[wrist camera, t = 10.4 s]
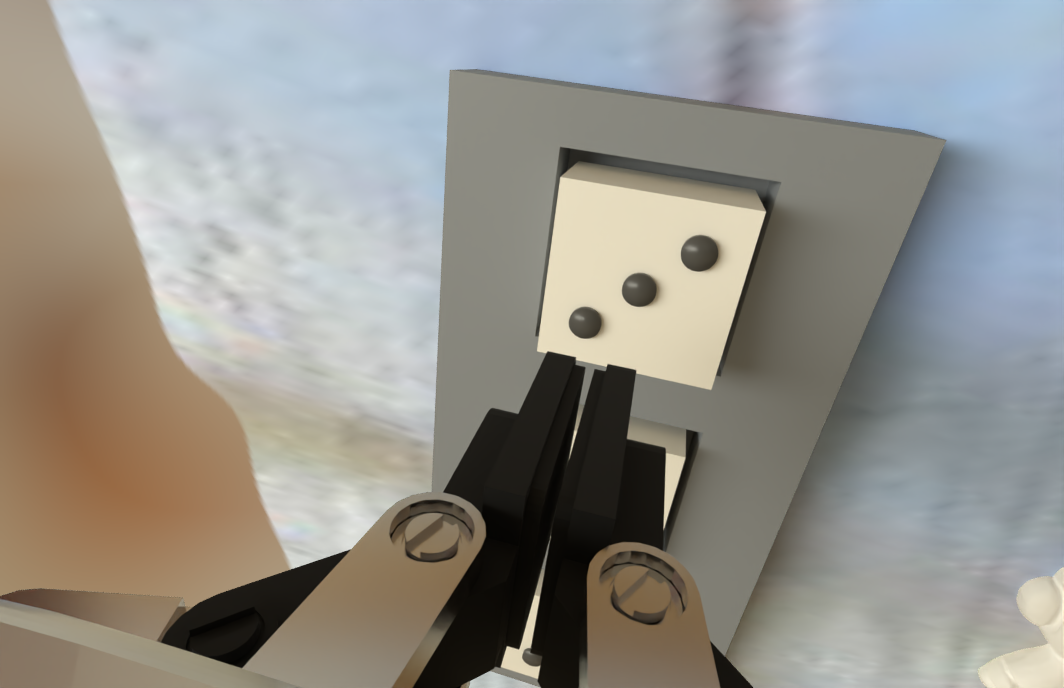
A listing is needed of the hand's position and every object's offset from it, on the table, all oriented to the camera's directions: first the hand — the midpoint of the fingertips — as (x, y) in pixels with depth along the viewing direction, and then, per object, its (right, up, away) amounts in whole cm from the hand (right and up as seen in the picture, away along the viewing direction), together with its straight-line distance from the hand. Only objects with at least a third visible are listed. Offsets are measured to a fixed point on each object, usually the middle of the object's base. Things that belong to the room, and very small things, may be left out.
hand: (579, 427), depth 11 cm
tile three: (+3, +5, +9) cm, 10 cm away
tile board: (+2, -3, +14) cm, 15 cm away
